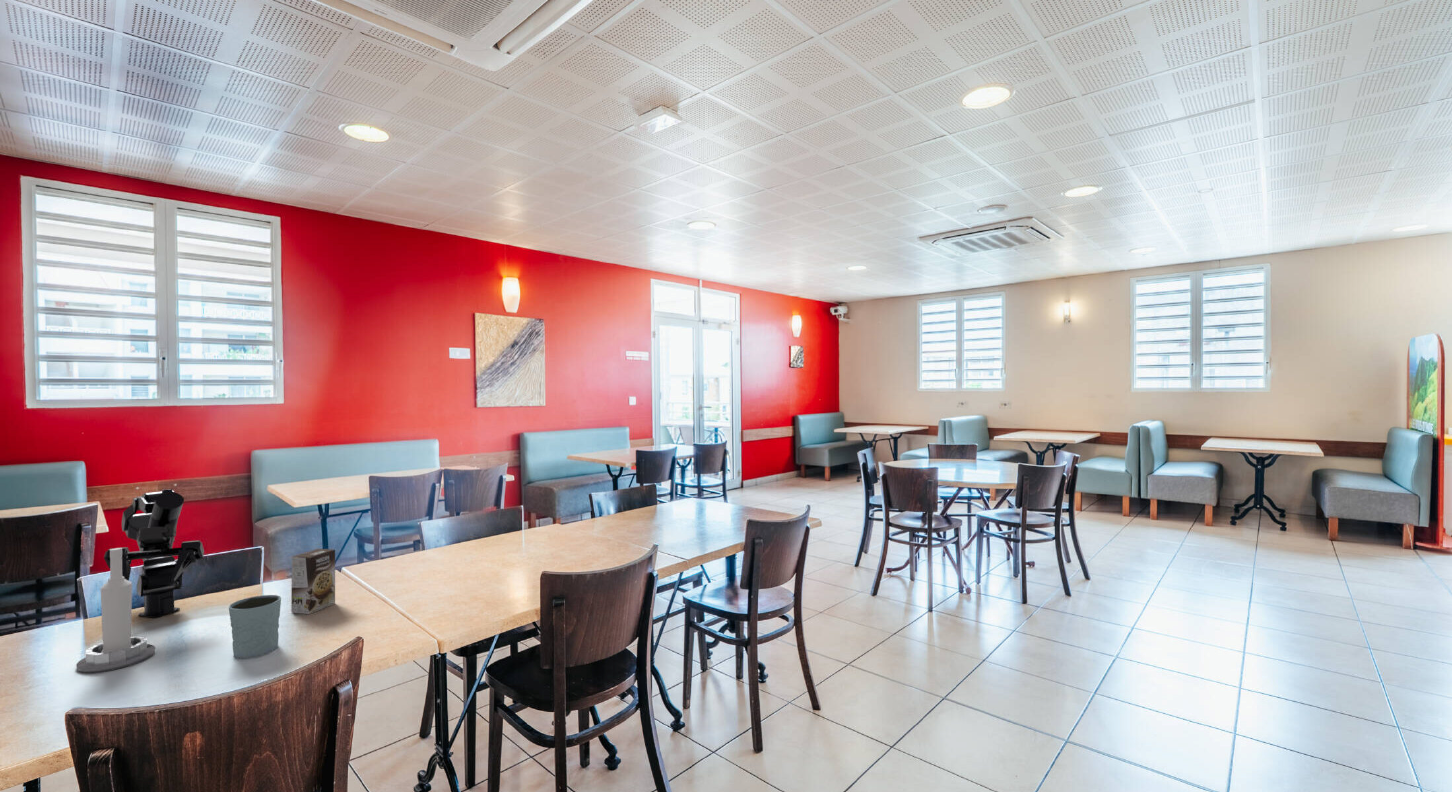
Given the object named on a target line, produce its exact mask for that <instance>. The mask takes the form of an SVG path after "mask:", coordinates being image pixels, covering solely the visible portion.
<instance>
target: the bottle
mask: <svg viewBox="0 0 1452 792" xmlns="http://www.w3.org/2000/svg"><path fill="white" fill-rule="evenodd" d="M122 548H123V547H115V548H109V549H110V568H109V569H110V570H109V571H110V574H109V575H110V577H109V579H108V581H106V583H104V585H102V586H100V604H101V605H100V608H101V627H102V628H101V629H102V632H101V633H102V643H103V650H102V651H101V653H105V652H113V651H117V650H122V649H126V648H128V647H131V646H133V644H131V637H132V611H133V610H132V606H133V605H132V602H133V600H132V598H133V597H132V596H133V582H132V581H130V580H129V581H128V580H126V579H125V578H124V577H123V576H122Z"/></svg>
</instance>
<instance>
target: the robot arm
mask: <svg viewBox="0 0 1452 792" xmlns="http://www.w3.org/2000/svg"><path fill="white" fill-rule="evenodd" d="M184 501H185V498H184V497H183V495H181V494H180V493H178V492H175V491H174V490H173V488H170V489H169V488H167V489H162V490H161V491H153V492H144V493H143V494H142V495H139V496H136V497H133V498H132V504H131V505H129V506H128V507H127V508H126V509H125V510H124V511H123V512H122V518H121V531H122V532H124V533H125V535H126V537H127V538H128V539H131V540H134V541H136V543H137V546H138V549H139V550H138V551H130V550H129V547H128V546H127V547H126V546H125V547H121V548H122V576H123V577H124V578H125V579H126V580H128V581H130V577H131V572H132V566H131V564H132V561H134V560H142V561H143V564H142V566H141V572H140V573H141V574H138V575H139V576H138V578H137V584H136V594H137V595H138V596H139V598H143V602H144V603H143V605H144V606H143V608H144V610H143V612H139V613H138V614H137V616H138V617H144V618H152V619H155V618H160V617H162V616H166V615H168V614H171V613H175V612H178V611H181V608H180V607H175V593H174V591H175V590H181V588H183V577H184V571H185V570H186V569H187V568H188V567H189V566H190V565H191V564H193V563H196V562H197V561H198V560H202V559H204V555H205V549H204V545H203V543H202V541H200V540H199V539H198V540H189V541H182V542H181V544H180V547H173V546H174V543H175V537H176V536H177V525H178V520H179V517H180V515H181V512H182V509H183V505H184V504H185V502H184ZM138 511H141V512H142V513H138ZM110 549H111V548H109V549H108V550H106V551H105V553H104V555H103V559H104V561H105V563H106V565H107V566H108V569H110ZM175 556H176V557H177V560H176V559H175Z"/></svg>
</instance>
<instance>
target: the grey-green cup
mask: <svg viewBox="0 0 1452 792" xmlns="http://www.w3.org/2000/svg"><path fill="white" fill-rule="evenodd" d="M281 605H282V597H281V596H280V595H277V594H264V595H257V596H251V597H246V598H242V599H240V600H237V601H234V602H233V603H231V604H229V605H228V611H229V613H228V614H229V617H230V618H229V621H230V628H231V637H232V643H231V644H232V652H233V654H232V655H233V657H234V658H237V659H253V658H258V657H263V656H265V655H267V654H268V655H269V654H270V653H272V652H273V651H275V650H276V649H278V646H279V639H280V638H279V636H280V635H279V628H280V623H279V622H280V621H279V619H280V616H281V607H282V606H281Z"/></svg>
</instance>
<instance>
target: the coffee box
mask: <svg viewBox="0 0 1452 792" xmlns="http://www.w3.org/2000/svg"><path fill="white" fill-rule="evenodd" d="M335 604H336V549H332V548H331V549H330V548H316V549H313V550H310V551H306V552H302V553H300V554H296V555H292V556H291V605H290V606H291V607H290V608H291V609H290V610H291V613H294V614H301V615H302V614H303V615H310V614H313V613H316V612H318V611H321V610H323V609H325V608H328V607H329V606H332V605H335Z"/></svg>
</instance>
